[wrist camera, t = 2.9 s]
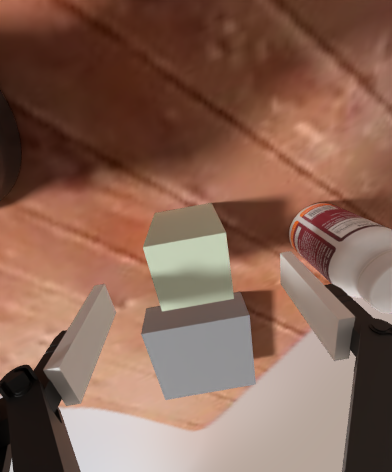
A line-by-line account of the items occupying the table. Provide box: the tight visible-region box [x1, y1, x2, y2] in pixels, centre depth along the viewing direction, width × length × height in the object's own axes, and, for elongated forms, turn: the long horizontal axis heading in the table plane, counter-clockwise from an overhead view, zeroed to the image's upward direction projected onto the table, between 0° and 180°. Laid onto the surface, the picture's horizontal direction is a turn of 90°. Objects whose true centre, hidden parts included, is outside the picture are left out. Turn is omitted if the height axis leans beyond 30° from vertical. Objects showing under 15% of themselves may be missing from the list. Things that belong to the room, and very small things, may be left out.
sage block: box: [143, 203, 234, 311], centre depth 21 cm, size 6×6×8 cm
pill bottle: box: [289, 203, 392, 314], centre depth 20 cm, size 6×6×11 cm
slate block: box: [141, 292, 256, 400], centre depth 29 cm, size 12×12×4 cm
